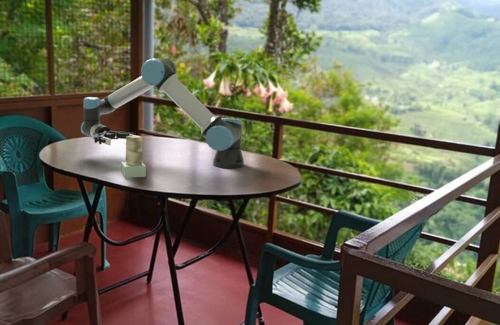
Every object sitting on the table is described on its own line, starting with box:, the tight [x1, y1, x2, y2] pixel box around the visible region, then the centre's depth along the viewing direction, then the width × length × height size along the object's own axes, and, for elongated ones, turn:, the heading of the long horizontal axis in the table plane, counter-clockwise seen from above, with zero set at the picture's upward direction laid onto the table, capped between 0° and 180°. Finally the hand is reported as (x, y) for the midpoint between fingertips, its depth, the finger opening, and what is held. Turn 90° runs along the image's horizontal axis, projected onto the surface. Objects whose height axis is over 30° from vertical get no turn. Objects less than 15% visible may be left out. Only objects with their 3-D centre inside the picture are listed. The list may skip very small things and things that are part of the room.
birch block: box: [125, 135, 143, 165], centre depth 224 cm, size 5×5×12 cm
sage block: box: [121, 161, 147, 179], centre depth 226 cm, size 9×9×5 cm
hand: (124, 140), depth 228 cm, fingers open, 13 cm apart
